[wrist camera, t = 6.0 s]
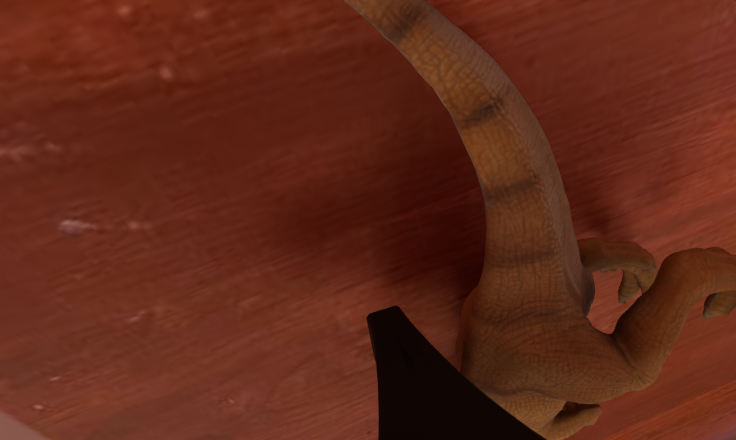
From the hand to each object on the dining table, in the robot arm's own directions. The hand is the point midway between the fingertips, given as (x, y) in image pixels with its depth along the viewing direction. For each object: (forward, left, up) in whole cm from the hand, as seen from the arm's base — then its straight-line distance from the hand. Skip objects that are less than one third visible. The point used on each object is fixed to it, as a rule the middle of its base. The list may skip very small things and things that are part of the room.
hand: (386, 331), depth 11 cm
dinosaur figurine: (+4, -2, -2) cm, 5 cm away
